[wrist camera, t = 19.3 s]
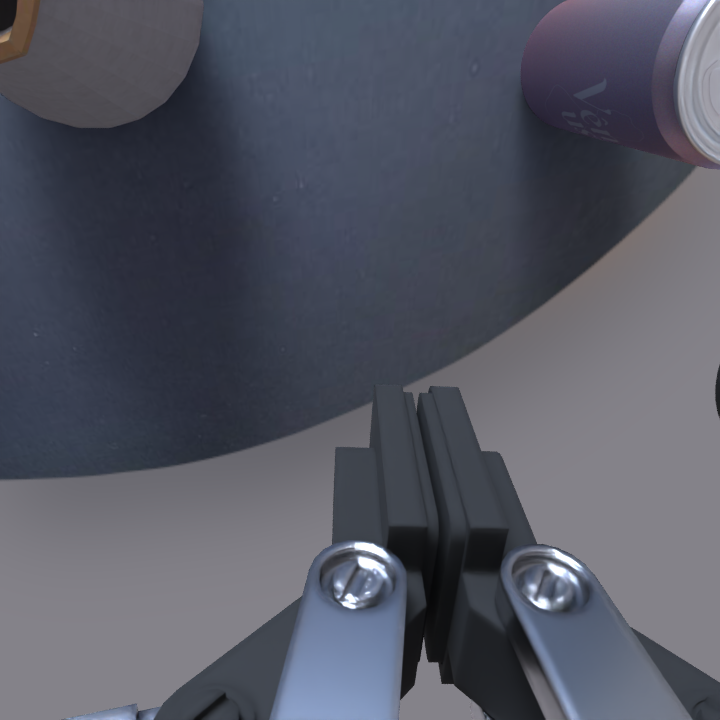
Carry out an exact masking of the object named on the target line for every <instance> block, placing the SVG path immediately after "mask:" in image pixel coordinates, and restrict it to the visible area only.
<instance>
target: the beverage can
mask: <svg viewBox="0 0 720 720" xmlns="http://www.w3.org/2000/svg"><path fill="white" fill-rule="evenodd" d="M521 85H522V90H523V94H524V97H525V99H526V101H527V103H528V105H529V107H530V108H531V110H532V111H533V112H534V114H535V115H536V116H537V117H538V118H539V119H541V120H542V121H543V122H545V123H547V124H549V125H551V126H553V127H556V128H560V129H564V130H567V131H571V132H575V133H578V134H582V135H586V136H589V137H593V138H597V139H601V140H604V141H608V142H612V143H615V144H619V145H623V146H626V147H630V148H634V149H638V150H641V151H645V152H649V153H652V154H656V155H660V156H663V157H667V158H671V159H674V160H678V161H682V162H686V163H689V164H693V165H697V166H700V167H704V168H709V169H720V0H567V1H565V2H563V3H561V4H559V5H558V6H556V7H555V8H553V9H552V10H551V11H550V12H549V13H548V14H547V15H545V17H544V18H543V19H542V20H541V21H540V22H539V23H538V25H537V26H536V28H535V29H534V31H533V32H532V34H531V36H530V38H529V40H528V42H527V45H526V47H525V50H524V53H523V58H522V63H521Z"/></svg>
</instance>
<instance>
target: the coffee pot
mask: <svg viewBox="0 0 720 720" xmlns="http://www.w3.org/2000/svg"><path fill="white" fill-rule="evenodd" d="M203 9H204V5H203V0H0V93H2V94H3V95H4V96H5V97H6V98H7V99H9V100H10V101H12V102H14V103H15V104H17V105H19V106H21V107H23V108H25V109H27V110H28V111H30V112H32V113H34V114H36V115H38V116H40V117H41V118H44V119H48V120H51V121H55V122H59V123H62V124H66V125H70V126H74V127H77V128H112V127H115V126H119V125H122V124H126V123H129V122H132V121H136V120H139V119H141V118H143V117H144V116H146V115H147V114H149V113H150V112H152V111H153V110H155V109H156V108H158V107H159V106H161V105H162V104H163V103H165V102H166V101H167V100H168V99H169V97H170V96H171V95H172V93H173V92H174V91H175V90H176V88H177V87H178V86H179V85H180V83H181V82H182V81H183V80H184V78H185V77H186V75H187V72H188V70H189V68H190V65H191V63H192V60H193V58H194V55H195V53H196V50H197V48H198V45H199V40H200V32H201V24H202V16H203Z"/></svg>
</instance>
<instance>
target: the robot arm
mask: <svg viewBox="0 0 720 720" xmlns="http://www.w3.org/2000/svg"><path fill="white" fill-rule="evenodd" d="M334 476H335V477H334V502H333V534H332V535H333V536H332V545H331V546H329V547H327V548H325V549H324V550H323V551H322V552H321V553H320V554H319V555H318V556H317V557H316V558H315V559H314V561H313V563H312V565H311V567H310V569H309V572H308V576H307V580H306V584H305V587H304V591H303V595H302V596H301V597H300V598H299V599H297V600H296V601H295V602H293V603H292V604H291V605H289V606H288V607H287V608H285V609H284V610H283V611H282V612H280V613H279V614H277V615H276V616H275V617H273V618H272V619H271V620H269V621H268V622H267V623H265V624H264V625H263V626H262V627H260V628H259V629H257V630H256V631H255V632H253V633H252V634H251V635H250V636H248V637H247V638H246V639H244V640H243V641H241V642H240V643H239V644H238V645H236V646H235V647H234V648H232V649H231V650H230V651H228V652H227V653H226V654H224V655H223V656H222V657H220V658H219V659H218V660H216V661H215V662H214V663H213V664H211V665H210V666H208V667H207V668H206V669H204V670H203V671H202V672H201V673H199V674H198V675H196V676H195V677H194V678H192V679H191V680H190V681H189V682H187V683H186V684H184V685H183V686H182V687H180V688H179V689H178V690H177V691H176V692H175V693H174V694H173V695H172V696H171V697H170V698H168V700H166V701H165V702H164V703H163V705H162V706H161V707H156V708H152V709H147V710H143V711H138V707H137V704H132V705H128V706H123V707H118V708H114V709H109V710H104V711H100V712H96V713H91V714H86V715H81V716H77V717H72V718H68V719H63V720H399V708H400V700H401V699H402V698H403V697H404V696H405V695H406V694H407V692H408V691H409V690H410V689H411V688H412V687H413V686H414V684H415V678H416V671H417V665H418V662H419V661H420V656H421V650H422V643H423V637H424V640H425V648H426V654H427V659H428V662H438V663H439V669H440V676H441V682H442V684H454V685H455V686H456V687H457V688H458V689H459V690H460V691H462V692H463V693H464V694H465V695H466V696H468V697H469V698H470V699H471V703H470V709H471V714H472V719H473V720H720V683H719V682H718V681H716V680H715V679H713V678H711V677H710V676H708V675H707V674H705V673H704V672H702V671H700V670H699V669H697V668H696V667H694V666H692V665H691V664H689V663H688V662H686V661H684V660H683V659H681V658H679V657H678V656H676V655H675V654H673V653H672V652H670V651H668V650H667V649H665V648H664V647H662V646H660V645H659V644H657V643H655V642H654V641H652V640H650V639H649V638H648V637H646V636H644V635H643V634H641V633H640V632H638V631H636V630H635V629H633V628H631V627H630V626H629V625H628V623H627V622H626V621H625V619H624V618H623V616H622V615H621V613H620V612H619V610H618V609H617V607H616V606H615V605H614V603H613V601H612V600H611V598H610V597H609V596H608V594H607V593H606V591H605V590H604V588H603V587H602V585H601V584H600V582H599V581H598V579H597V578H596V577H595V575H594V574H593V573H592V572H591V571H590V569H589V568H588V567H587V566H586V565H585V564H584V563H583V562H581V561H580V560H579V559H577V558H576V557H575V556H573V555H572V554H570V553H568V552H565V551H563V550H561V549H559V548H556V547H552V546H548V545H544V544H537V542H536V540H535V537H534V535H533V532H532V530H531V528H530V525H529V522H528V520H527V518H526V515H525V513H524V510H523V508H522V505H521V503H520V500H519V498H518V495H517V493H516V491H515V488H514V486H513V483H512V481H511V478H510V476H509V473H508V471H507V468H506V466H505V463H504V461H503V459H502V457H501V455H500V453H498V452H490V451H487V452H486V451H481V449H480V447H479V443H478V441H477V438H476V435H475V432H474V430H473V427H472V424H471V421H470V418H469V416H468V413H467V410H466V407H465V404H464V402H463V399H462V396H461V393H460V390H459V388H458V387H440V386H439V387H438V386H430V388H429V391H428V393H420V394H419V397H418V405H417V413H416V408H415V403H414V398H413V394H412V393H409V392H403V388H402V385H382V384H375V385H374V393H373V407H372V420H371V433H370V447H369V448H355V447H336V450H335V474H334Z"/></svg>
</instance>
